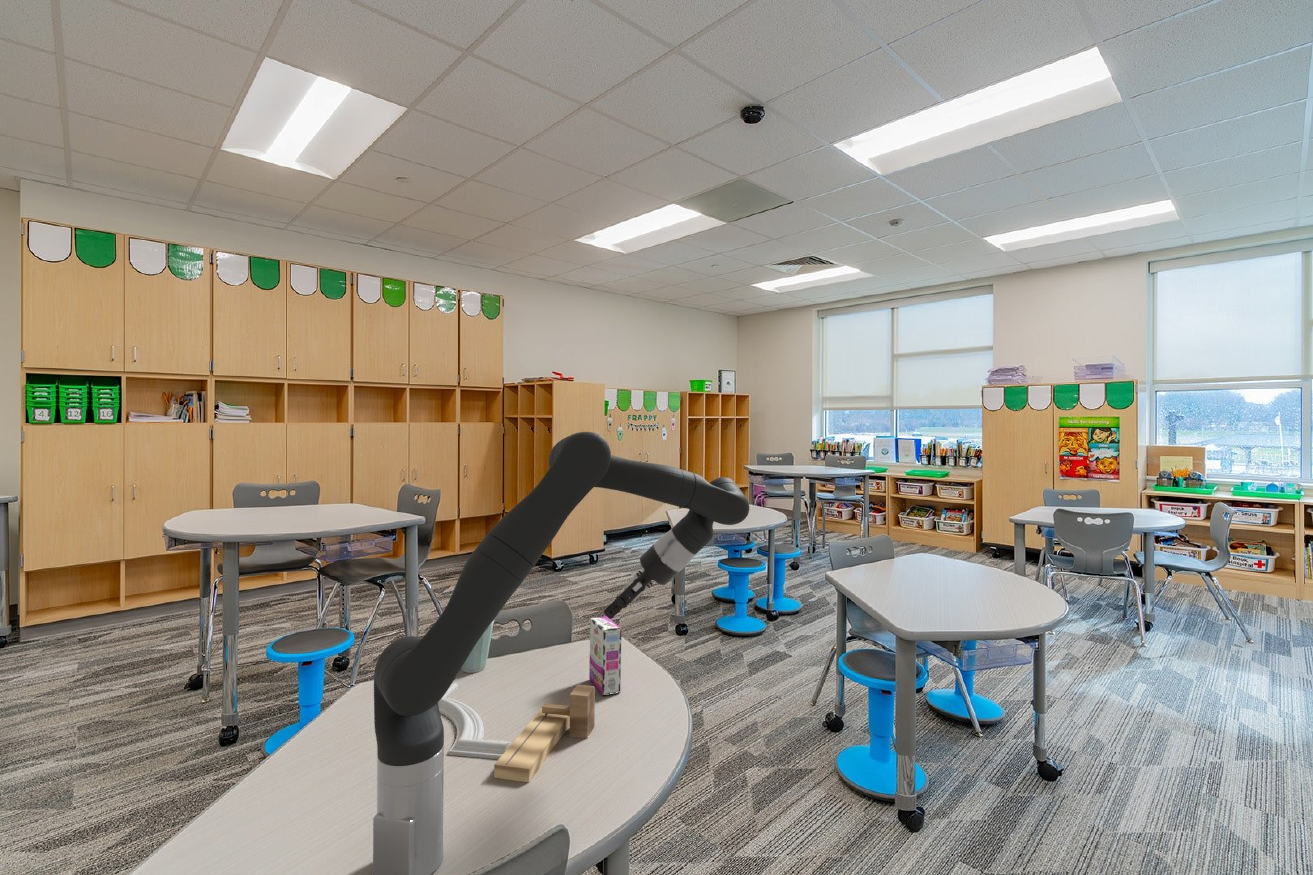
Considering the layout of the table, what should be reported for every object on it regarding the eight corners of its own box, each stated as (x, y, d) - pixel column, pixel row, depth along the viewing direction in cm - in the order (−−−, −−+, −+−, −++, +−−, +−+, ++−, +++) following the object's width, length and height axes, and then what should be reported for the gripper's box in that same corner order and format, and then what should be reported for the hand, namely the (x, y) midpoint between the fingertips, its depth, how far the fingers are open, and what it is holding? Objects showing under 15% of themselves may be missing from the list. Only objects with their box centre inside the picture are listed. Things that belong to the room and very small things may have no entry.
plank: (529, 782, 109) (529, 768, 109) (494, 777, 111) (494, 763, 111) (572, 720, 133) (572, 709, 133) (543, 717, 134) (543, 706, 134)
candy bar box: (621, 693, 147) (622, 627, 147) (602, 696, 145) (603, 630, 145) (606, 676, 157) (606, 615, 157) (588, 679, 155) (589, 617, 155)
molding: (521, 756, 119) (522, 742, 119) (462, 776, 112) (462, 760, 112) (453, 684, 153) (453, 672, 153) (404, 695, 146) (404, 683, 146)
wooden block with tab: (587, 738, 125) (587, 696, 125) (538, 732, 128) (539, 691, 128) (594, 726, 130) (594, 686, 130) (547, 721, 133) (547, 681, 132)
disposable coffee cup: (481, 658, 169) (481, 605, 169) (501, 668, 162) (502, 614, 162) (446, 668, 161) (446, 613, 161) (466, 680, 154) (466, 622, 154)
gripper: (661, 536, 127) (609, 586, 129) (648, 549, 113) (590, 605, 115) (686, 562, 126) (633, 612, 128) (675, 578, 112) (616, 634, 114)
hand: (612, 608), depth 122 cm, fingers open, 8 cm apart
